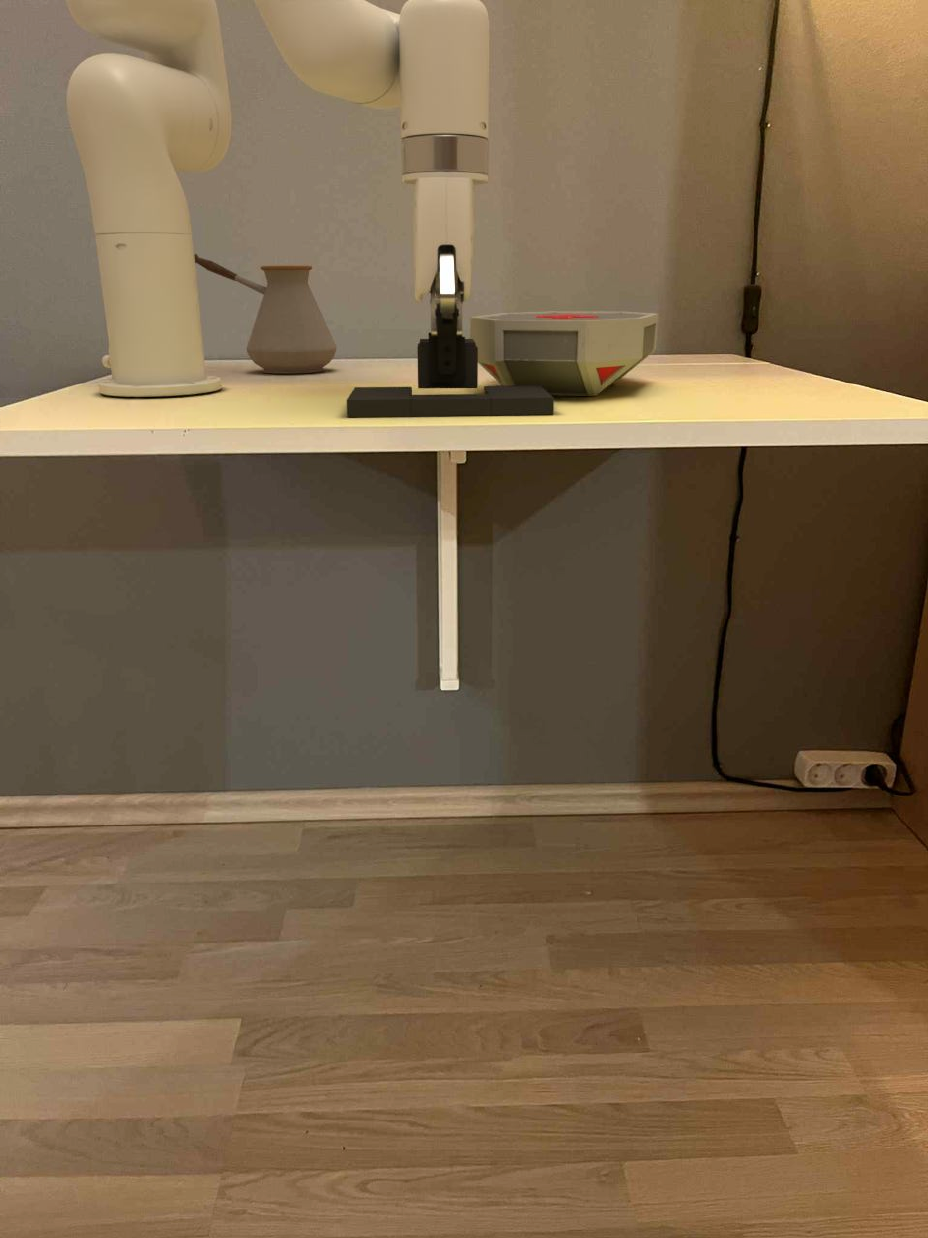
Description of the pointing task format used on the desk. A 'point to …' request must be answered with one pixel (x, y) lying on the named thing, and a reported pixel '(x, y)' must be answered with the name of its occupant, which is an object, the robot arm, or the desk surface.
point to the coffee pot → (285, 321)
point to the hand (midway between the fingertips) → (446, 377)
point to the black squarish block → (469, 382)
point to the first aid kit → (563, 348)
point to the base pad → (449, 402)
